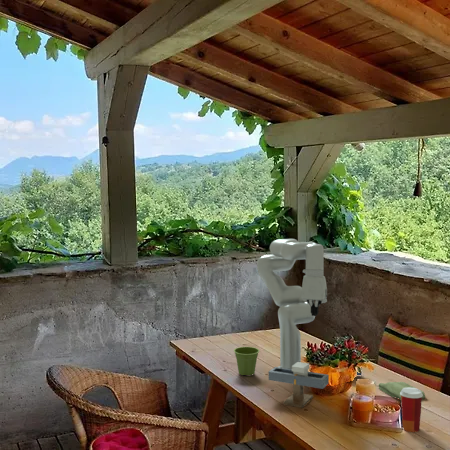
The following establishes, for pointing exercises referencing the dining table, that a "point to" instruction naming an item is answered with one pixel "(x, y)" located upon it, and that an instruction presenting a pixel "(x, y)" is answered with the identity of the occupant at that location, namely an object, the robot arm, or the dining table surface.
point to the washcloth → (395, 388)
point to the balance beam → (298, 384)
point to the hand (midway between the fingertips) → (314, 315)
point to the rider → (300, 368)
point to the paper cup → (411, 408)
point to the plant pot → (246, 359)
